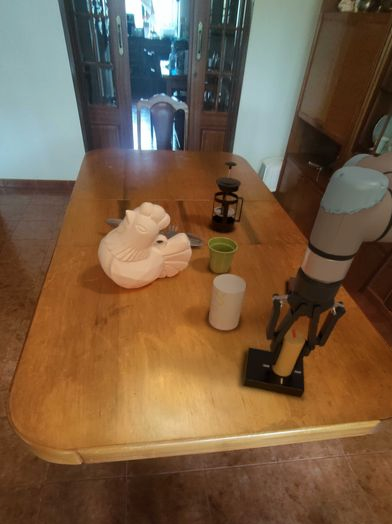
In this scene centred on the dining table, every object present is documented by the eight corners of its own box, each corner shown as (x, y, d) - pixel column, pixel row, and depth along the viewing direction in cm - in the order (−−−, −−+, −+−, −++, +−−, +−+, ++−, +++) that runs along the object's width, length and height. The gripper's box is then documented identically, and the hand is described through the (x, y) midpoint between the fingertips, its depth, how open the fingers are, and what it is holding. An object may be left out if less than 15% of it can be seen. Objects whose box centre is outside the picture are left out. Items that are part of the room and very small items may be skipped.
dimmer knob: (292, 377, 71) (307, 345, 63) (272, 375, 71) (285, 342, 63) (290, 363, 74) (304, 330, 66) (271, 360, 74) (283, 328, 66)
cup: (207, 310, 89) (211, 273, 80) (235, 310, 90) (243, 274, 81) (210, 330, 83) (215, 293, 74) (240, 330, 84) (249, 293, 75)
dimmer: (300, 364, 77) (303, 357, 75) (301, 397, 70) (304, 390, 68) (247, 354, 78) (249, 346, 76) (242, 385, 71) (245, 378, 69)
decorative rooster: (84, 275, 85) (135, 212, 69) (94, 237, 93) (141, 173, 78) (160, 314, 99) (216, 269, 83) (162, 277, 107) (213, 231, 92)
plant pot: (237, 266, 106) (242, 242, 100) (227, 280, 100) (231, 255, 93) (211, 258, 108) (214, 234, 102) (200, 271, 102) (202, 246, 96)
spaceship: (109, 208, 112) (102, 208, 104) (206, 230, 113) (205, 231, 106) (107, 231, 115) (100, 233, 108) (201, 253, 116) (200, 255, 109)
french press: (209, 232, 121) (215, 165, 105) (208, 221, 128) (214, 157, 111) (239, 234, 122) (251, 168, 105) (237, 223, 128) (247, 159, 112)
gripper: (367, 266, 56) (321, 355, 73) (269, 254, 56) (245, 345, 73) (379, 291, 51) (326, 380, 68) (271, 277, 51) (245, 369, 68)
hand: (284, 362), depth 70 cm, fingers closed on dimmer knob, 4 cm apart
